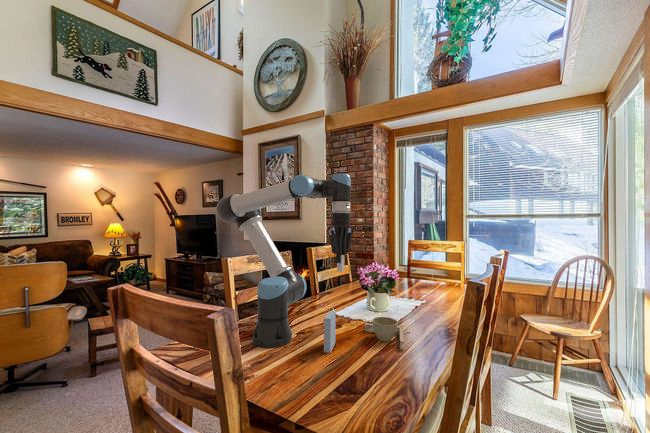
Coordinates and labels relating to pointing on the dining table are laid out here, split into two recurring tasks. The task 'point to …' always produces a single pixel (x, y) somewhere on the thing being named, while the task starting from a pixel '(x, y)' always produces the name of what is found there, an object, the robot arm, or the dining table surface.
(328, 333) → the pale blue rectangular prism
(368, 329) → the l-shaped bracket
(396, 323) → the flower pot
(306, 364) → the dining table surface
